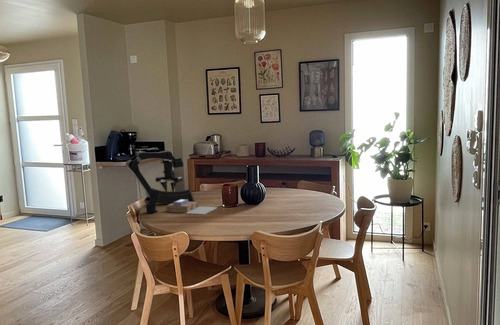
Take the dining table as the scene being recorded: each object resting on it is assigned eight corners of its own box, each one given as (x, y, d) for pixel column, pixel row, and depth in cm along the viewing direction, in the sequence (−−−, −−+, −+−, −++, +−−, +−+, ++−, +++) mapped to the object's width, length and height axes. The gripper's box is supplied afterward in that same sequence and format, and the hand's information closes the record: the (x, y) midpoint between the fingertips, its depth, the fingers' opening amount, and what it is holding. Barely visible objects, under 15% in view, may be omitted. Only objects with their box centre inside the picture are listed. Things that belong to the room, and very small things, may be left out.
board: (187, 212, 265) (186, 206, 265) (167, 211, 272) (166, 205, 271) (198, 207, 278) (197, 201, 278) (178, 206, 285) (178, 200, 284)
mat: (204, 214, 258) (204, 214, 258) (185, 213, 264) (185, 212, 264) (217, 207, 274) (217, 207, 274) (199, 206, 280) (199, 206, 280)
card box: (181, 205, 270) (180, 202, 269) (173, 204, 272) (173, 201, 272) (188, 202, 278) (188, 199, 278) (181, 201, 280) (180, 199, 280)
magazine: (197, 190, 295) (157, 180, 294) (196, 190, 292) (156, 181, 291) (192, 212, 297) (152, 202, 296) (191, 213, 294) (151, 203, 293)
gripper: (186, 167, 279) (187, 189, 281) (163, 167, 286) (165, 189, 288) (177, 170, 269) (178, 193, 271) (154, 169, 276) (155, 192, 278)
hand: (169, 191), depth 277 cm, fingers open, 5 cm apart
